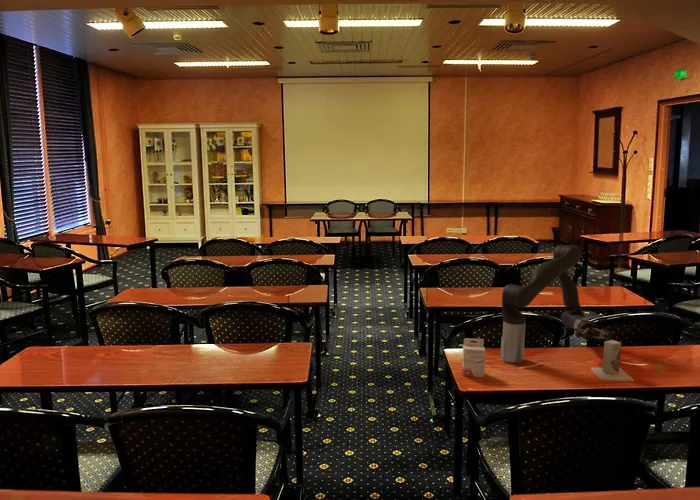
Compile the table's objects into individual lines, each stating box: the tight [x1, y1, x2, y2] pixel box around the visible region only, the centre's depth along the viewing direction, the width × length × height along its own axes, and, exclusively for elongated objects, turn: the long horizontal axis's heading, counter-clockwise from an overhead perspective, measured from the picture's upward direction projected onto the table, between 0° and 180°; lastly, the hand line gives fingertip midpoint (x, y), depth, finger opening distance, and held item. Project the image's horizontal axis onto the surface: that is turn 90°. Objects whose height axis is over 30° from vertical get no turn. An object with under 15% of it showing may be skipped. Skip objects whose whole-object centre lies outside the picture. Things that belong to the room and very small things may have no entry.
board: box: [590, 367, 634, 382], centre depth 226 cm, size 12×12×1 cm
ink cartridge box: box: [461, 337, 486, 378], centre depth 226 cm, size 9×5×15 cm, turn 84°
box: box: [601, 339, 622, 374], centre depth 226 cm, size 5×4×13 cm
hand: (598, 338), depth 235 cm, fingers open, 8 cm apart
